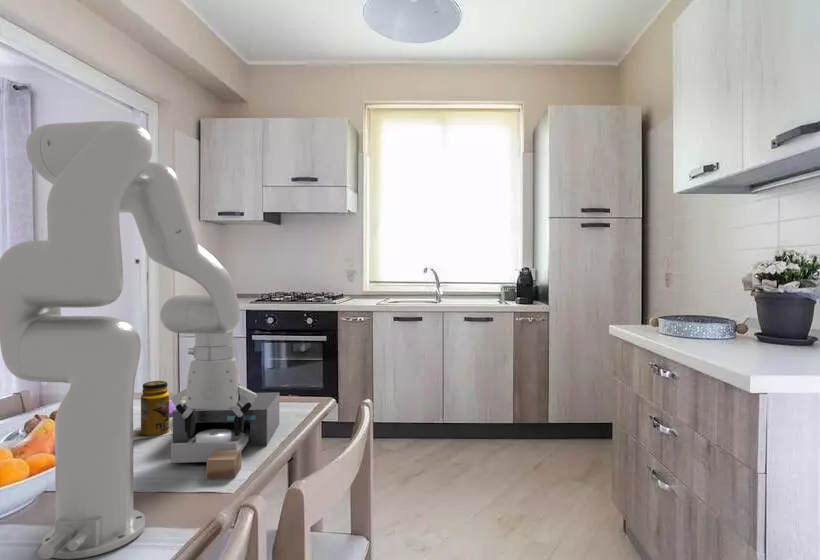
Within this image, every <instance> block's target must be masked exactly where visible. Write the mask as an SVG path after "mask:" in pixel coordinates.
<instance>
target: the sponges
mask: <svg viewBox="0 0 820 560" xmlns="http://www.w3.org/2000/svg"><path fill="white" fill-rule="evenodd" d="M175 409H176V406H175V405H174V403H173V402H172V400H169V418H173V411H174V410H175Z"/></svg>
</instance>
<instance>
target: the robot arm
mask: <svg viewBox="0 0 820 560" xmlns="http://www.w3.org/2000/svg"><path fill="white" fill-rule="evenodd" d="M25 153H26V155H27V158H28V161H29V163H30V165H31V166H32V168H33V169H34V170H35V172H36V173H37V174H38V175H39V176H41V177H42V178H43V179H44V180H46V181H47V182H49V183H50V184H52V187H50V188H51V189H50V191H49V193H48V197H47V200H46V201H47V202H46V219H47V220H46V221H47V222H46V223H47V240H29V241H23V242H19V243H17V244H14V245H13V246H11V247H9V248H8V249H7V250H6V251H4V253H3V254H2V256H0V352H1V356H2V360H3V362H4V365H5V367H6V368H7V370H8V371H9V372H10V373H11V374H12V375H13V376H14V377H16V378H18V379H19V380H23V381H27V382H33V383H34V382H35V383H37V382H38V383H61V384H70V386H69V390H68V391H67V393H66V394H65V396H64V397H63V399H62V400H61V403H60V404H59V406H58V409H57V410H56V414H55V418H54V419H55V420H54V445H55V446H54V449H55V451H54V457H55V458H54V459H55V462H54V463H55V465H54V467H55V469H54V470H55V471H54V473H55V482H54V483H55V485H54V486H55V521H54V526H53V527H52V528H51V529H50V530H48V531H47V533H45V535H44V536H43V537H42V540H41V546H39V548H38V552H37V554H38V555H39V557H40V558H41V559H43V560H49V559H51V558H54V559H59V560H75V559H78V560H79V559H83V558H89V557H95V556H99V555H102V554H105V553H109V552H111V551H113V550H116V549H118V548H122V547H123V546H125V545H128V543H131V542H132V541H133V540H135V539H136V538H137V537H138V536H140V535H141V534H142V533H143V531H144V529H145V528H146V516H145V514H144V513H142V511H139V510H137V509H135V508H134V503H135V502H134V496H135V495H134V440H133V430H134V395H135V392H134V391H135V383H136V377H137V373H138V372H137V371H138V365H139V363H140V357H141V349H142V345H141V344H142V341H141V337H140V335H139V333H138V331H137V330H136V329H137V328H135V327H134V326H133V325H132V324H131V323H129V322H127V321H125V320H123V319H120V318H118V317H117V318H116V317H113V316H103V315H102V316H101V315H72V316H71V315H70V316H69V315H62V313H61V312H62V311H61V309H62V308H66V309H67V308H69V309H70V308H71V309H78V308H79V309H81V308H85V309H87V308H99V307H104V306H107V305H111V304H112V303H114V302H116V301H117V300H118V298H120V296H121V295H122V293H123V292H122V291H123V287H124V268H123V265H124V264H123V263H124V262H123V251H122V241H121V238H122V237H121V229H120V225H121V223H120V222H121V221H120V214H122V213H125V214H126V213H128V214H129V213H130V214H131V215H132V216H133V218H134V222H135V225H136V226H137V229H138V233H139V235H140V238H141V241H142V242H143V243H142V244H143V246H144V249H145V252H146V254H147V257H149V259H151V261H153V262H155V263H157V264H159V265H161V266H163V267H166V268H168V269H170V270H172V271H175V272H177V273H180V274H182V275H185V276H186V277H188V278H190V279H191V280H193V281H195V282H196V283H198V284H199V285H200V286H202V288H204V289H205V291H206V292H207V294H179V295H175V296H172V297H170V298H169V299H167V300H166V301H165V302H164V303H163V305H162V307H161V309H160V312H159V315H160V316H159V317H160V321H161V323H162V325H163V327H164V328H165V329H167V330H168V331H170V332H172V333H175V334H185V335H186V334H190V335H193V334H194V345H193V347H189V348H188V350H187V354H188V355H192V356H193V358H194V359H192V360H191V361H190V363H189V369H188V373H187V374H188V375H187V383H186V388H184V389H183V390H181V391H179V392H177V393H176V394H173V395H172V396H171V398H170V401H172V402H173V403H174V405H175V406H176V409H177V410H178V411H179V412H180V413H181V414H182V416H183V418H185V432H187V437H191V436H192V435H193V434H194V433H195V414H193V412H194V411H195V410H219V409H232V410H233V411H234V413H235V414H236V417H235V418H234V436H238V435H239V434H240V433H241V431H243V429H244V413H245V412H247V411H248V410H249V409H250V407H251V406H252V404H253V403H254V401H255V399H256V397H257V394H256V393H257V392H254V391H252V390H251V389H248V388H246V387H244V386H242V385H241V377H240V369H239V365H238V361H237V358H236V357H234V330H236V327H237V326H238V324H239V322H240V315H241V314H240V312H241V309H240V303H239V300H238V296H237V295H238V294H237V292H236V287H235V284H234V281H233V279H232V276H231V275H230V274H229V273H230V272H228V271H227V269H226V268H225V267H224V266H223V265H222V263H220V261H218V259H216V258H215V257H214V255H212V254H211V253H210V252H209V251H207V250H206V249H205V248H204V247H203V246H201V245H200V243H199V242H198V240H197V238H196V235H195V232H194V227H193V225H192V221H191V218H190V217H191V216H190V214H189V211H188V208H187V205H186V201H185V198H184V195H183V191H182V188H181V185H180V181H179V179H178V176H177V174H176V173H175V171H174V170H173V169H172V168H171V167H169V166H167V165H166V164H163V163H159V162H154V161H153V162H151V160H152V155H153V142H152V138H151V136H150V133H148V131H147V130H146V129H145V128H143V126H141V125H139V124H136V123H134V122H129V121H123V120H99V121H98V120H97V121H96V120H95V121H83V122H81V121H80V122H58V123H57V122H56V123H47V124H43V125H40V126H38V127H36V128H35V129H33V130H32V131H31V133H29V135H28V138H27V139H26V142H25ZM241 395H243V396H245V397H247V398H248V401H247V403H246V404H245V405H244V406H242V405H241V403H240V399H241ZM184 397H185V402H186V405H187V406H186V405H185V404H184V403H185V402H183V400H182V398H184Z"/></svg>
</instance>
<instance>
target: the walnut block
mask: <svg viewBox="0 0 820 560" xmlns="http://www.w3.org/2000/svg"><path fill="white" fill-rule="evenodd" d="M241 470H242V451H241V450H221V451H214V452H213V453H212V455H211V456H210V457H209V458H208V459H207V462H206V480H218V479H224V480H225V479H235V478H236V477H237V476H238V474H239V473H240V471H241Z"/></svg>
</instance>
